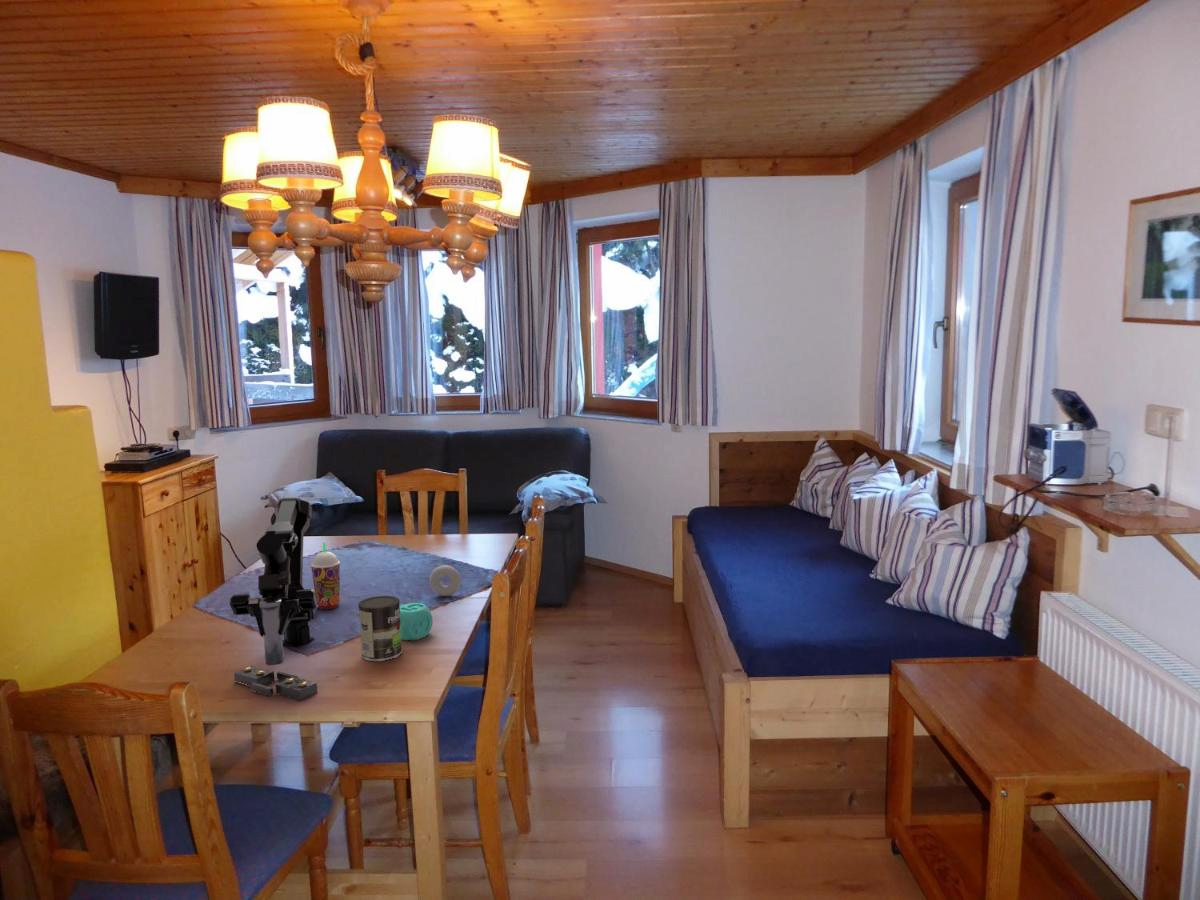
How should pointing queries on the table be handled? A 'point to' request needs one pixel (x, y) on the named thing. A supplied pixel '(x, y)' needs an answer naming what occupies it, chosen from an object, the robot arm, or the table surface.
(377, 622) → the coffee can
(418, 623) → the teal rolled towel
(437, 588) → the donut
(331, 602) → the smoothie
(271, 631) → the link pin
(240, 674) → the riveted post bracket
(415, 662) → the table surface
